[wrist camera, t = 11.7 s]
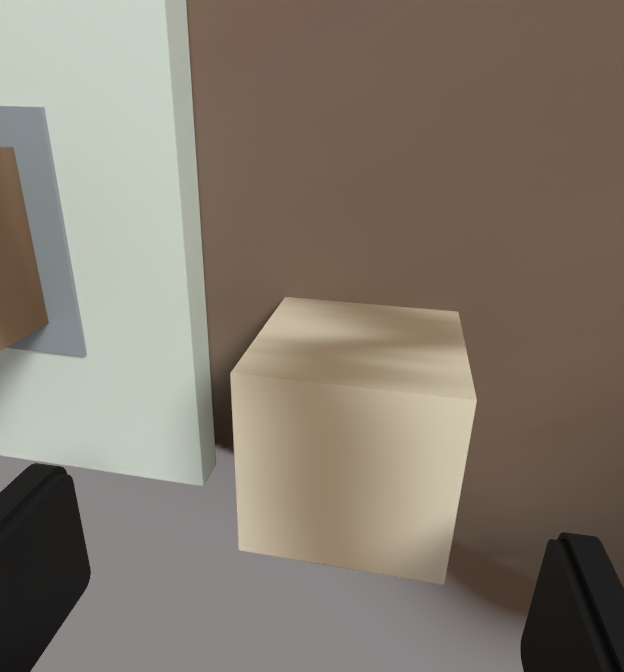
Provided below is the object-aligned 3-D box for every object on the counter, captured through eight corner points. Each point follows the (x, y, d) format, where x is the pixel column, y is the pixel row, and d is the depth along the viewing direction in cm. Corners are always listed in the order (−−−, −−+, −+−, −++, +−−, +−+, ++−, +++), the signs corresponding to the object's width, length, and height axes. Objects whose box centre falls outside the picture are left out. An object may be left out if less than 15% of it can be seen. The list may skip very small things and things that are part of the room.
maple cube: (458, 310, 14) (476, 400, 10) (436, 455, 16) (443, 584, 12) (285, 296, 15) (230, 373, 11) (285, 435, 17) (239, 550, 13)
